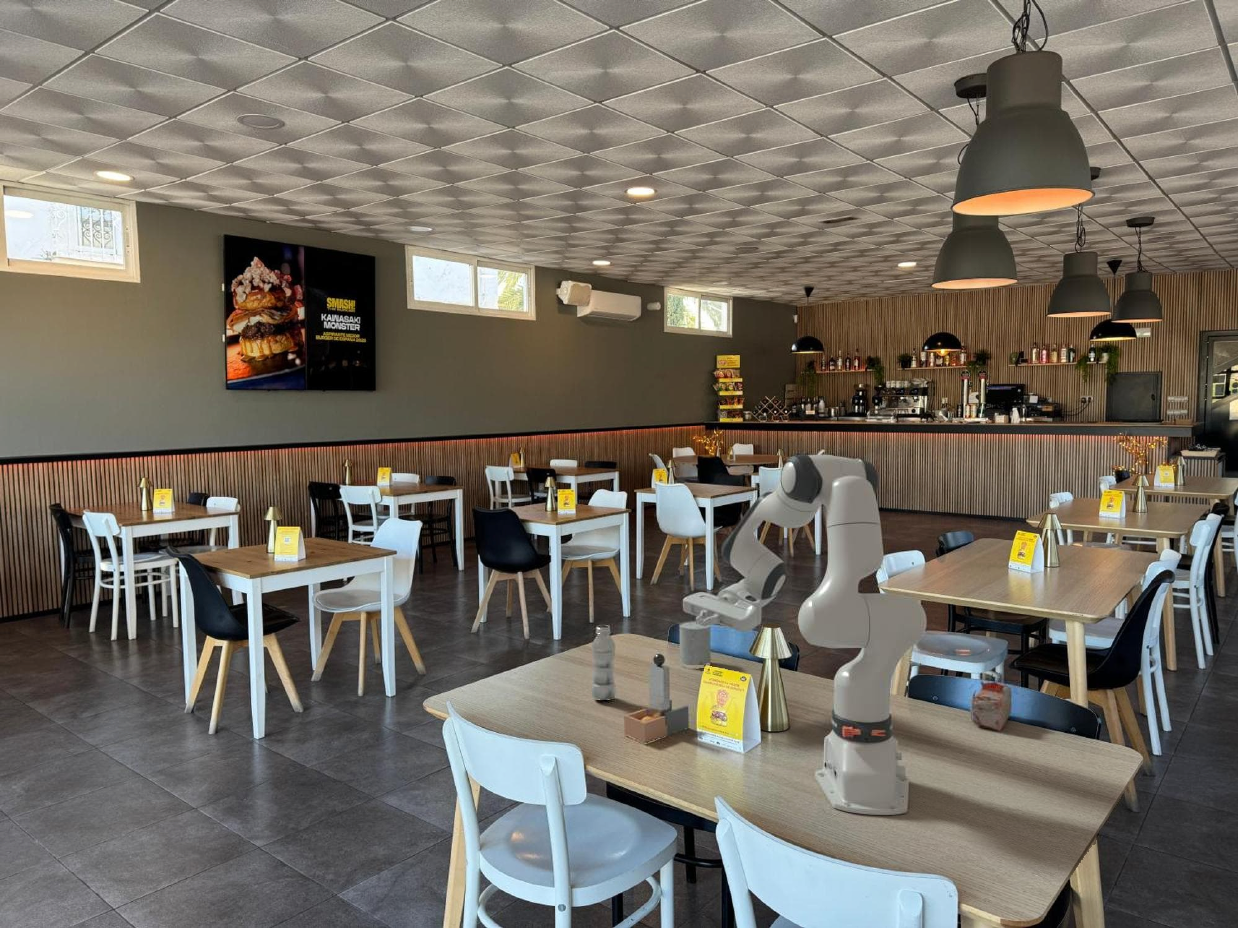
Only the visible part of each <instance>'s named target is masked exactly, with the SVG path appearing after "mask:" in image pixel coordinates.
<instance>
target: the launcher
mask: <svg viewBox="0 0 1238 928" xmlns="http://www.w3.org/2000/svg"><path fill="white" fill-rule="evenodd" d="M672 701H673V700H672V699H670V708H669V711H668V712H665V713H664V716H665V724H667V735H669V734H671V735H673V734H672V733H674V734H676V733H675V732H677V733H679V732H678V731H680V730H683V729H685V728H688V727H689V726H690V725H689V724H690V723H689V715H690V714H689V705H683V706H680V707H677V708H674V709H673V702H672ZM646 715H648V706H647V707H646ZM688 729H689V728H688ZM685 730H686V729H685ZM683 731H684V730H683ZM680 732H681V731H680ZM669 736H670V735H669Z"/></svg>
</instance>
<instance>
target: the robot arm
mask: <svg viewBox="0 0 1238 928" xmlns="http://www.w3.org/2000/svg"><path fill="white" fill-rule="evenodd" d="M879 481H880V479H879V474H878V471H877V469H876V467H875V466H874V464H873V463H872V462H870V461H868V460H865V459H863V458H862V459H861V458H857V457H856V458H849V457H845V456H837V455H835V456H834V454H833V455H832V454H806V453H804V454H796V455H792V456H790V457H788V458H787V459H786V461H785V462H784V464H783V465H782V468H781V472H780V480H779V483H778V485H777V487H776V489H775V490H774V491H766V492H765V493H763V494H761V495H760V496H759V497H758V498H757V499H756V500H755V501H754V502H753V503H752V505H751V506H750V508H749V509H748V510H747V511H746V513H745V514H744V515H743V517H742V518H741V520H740V521H739V523H738V525H736V527H735V529H734V530H733V531H732V532H731V533H730V534H729V536H728V537H727V538H726V539H725V540H724V542H723V543H722V545H721V556H722V560H723V561H724V562H725V563H726V564H727V565H729V566H730V567H732V568H733V569H735V570H736V571H737V572H738V573H739V574H740V575H741V576H743V577H744V578H743V579H741V580H740V581H739V582H737V583H733V584H731V585H729V586H727V587H725V588H724V589H722V590H719V592H718V594H716V595H715V594H711V593H708V592H703V591H700V592H695V593H693V594H689V595H688V596H686V597H685V596H684V598H683V599H682V610H683V612H685V613H687V614H690V615H692V616H694V617H695V621H696V624H699V625H702V626H705V627H706V626H708V625H710V626H711V625H720V626H723V627H727V628H729V629H731V630H735V631H737V632H739V633H747V632H748V633H749V632H750V631H751V630H753V629H754V628H756V627H757V626H759V625H761V624H762V613H763V612H762V608H763V607H764V606H766V605H767V604H769V603H770V602H772V600H774V598H775V597H777V595H778V594H779V593H780V592H781V590H782V589H783V587H784V586H785V584H786V582H787V579H788V568H787V564H786V563H785V561H784V560H782V559H781V558H780V557H779V556H778V555H776V554H775V553H774V552H773V551H771V550H770V549H768V547H767V546H766V545H764V544H763V543H762V542H760V540H759V539H758V538H757V537H756V535H755V532H756V531H757V530H758V528H759V527H760V526H761V524H763V522H764V521H765V522H769V523H772V524H774V525H777V526H779V527H781V528H787V529H796V528H801V527H805V526H806V525H808V524H810V523H811V521H812V520H813V519H814V518H815V516H816V514H817V513H818V511H819V509H820V508H821V505H823V506H824V508H825V513H826V514H825V516H826V517H825V518H826V519H825V520H826V534H827V535H826V537H827V566H826V570H825V574H824V577H823V579H822V582H821V583H820V585H819V586H818V587H817V588H816V590H815V591H814V592H813V593H812V594H811V595H810V596H809V597H807V598H806V599H805V601H803V603H802V604H801V606H800V608H799V612H798V614H797V615H798V616H797V625H798V628H799V631H800V633H801V635H802V637H803V638H804V639H805V641H806V642H807V643H808V644H810V645H812V646H818V647H823V648H829V649H857V648H858V649H859V648H861V650H860V652H859V653H858V655H857V656H855V658H854V659H852V660H850V661H849V662H847V663H845V664H844V665H842V666H841V667H839V669H838V670H837V671H836V674H835V676H834V678H833V709H832V710H831V716H830V717H831V719H830V720H831V729H832V730H831V731H830V732H829V733H828V735H826V736H825V737H824V741H823V742H824V745H823V768H822V769H818V770H816V771H815V773H814V778H815V780H816V782H817V783H818V785H819V786H820V789H821V790H822V792H823V793H824V794H825V796H826V798H827V799H828V802H830V805H831V806H832V807H833V809H838V810H839V811H843V812H848V813H854V814H862V815H875V816H876V815H877V816H879V815H880V816H889V815H891V816H893V815H894V816H895V815H901V814H906V813H907V812H908V807H909V796H910V795H909V793H910V792H909V791H910V779H909V776H907V775H906V766H905V765H899V761H901V760H903V759H902V758H903V754H902V752H899V741H898V740H897V739H896V738H895V737H894V736H893V720H892V714H891V713H890V709H891V708H890V706H891V705H890V703H891V702H890V701H891V688H892V687H891V686H892V681H893V676H894V674H895V673H894V672H895V670H896V668H897V666H898V664H899V662H900V661H901V659H902V658H903V656H904V655H905V654H906V653H907V652H908V651H909V649H911V648H912V647H913V646H915V645H916V644H918V643H919V642H920V641H921V640H922V638H923V637H924V635H925V633H926V629H927V623H928V622H927V614H926V611H925V609H924V607H923V605H922V604H921V603H920V602H919V600H918V599H917V598H915V597H913V596H909V595H905V594H904V595H903V594H899V593H898V594H897V593H892V592H887V593H886V592H885V593H883V592H882V593H878V592H877V593H876V592H875V593H861V592H859V584H860V581H861V580H863V579H864V578H867V577H869V576H870V575H872V574H873V573H875V572H876V571H878V570H879V569H880V568H881V567H882V565H883V563H884V544H883V535H882V526H881V525H882V524H881V518H880V511H879V506H878V502H877V498H876V494H877V492H878V489H879V483H880V482H879Z"/></svg>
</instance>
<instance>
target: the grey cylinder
mask: <svg viewBox="0 0 1238 928" xmlns="http://www.w3.org/2000/svg"><path fill="white" fill-rule="evenodd" d="M680 662H681V663H684V664H686V665H704V667H705V666H706V663H710V662H711V625H708V626H706V627H705V626H702V625H699V624H696V620H694V621H693V620H692V621H690V620H689V621H684V622H681V623H679V663H680Z"/></svg>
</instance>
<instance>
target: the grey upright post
mask: <svg viewBox="0 0 1238 928" xmlns="http://www.w3.org/2000/svg"><path fill="white" fill-rule="evenodd" d="M652 661H653V662H651V663H649V665H648V684H649V685H648V688H649V689H648V691H649V705H647V707H648V714H647V717H652V718H653V719H656V718H659V717H662V716H664V713H665V712H668V711H669V708H670V700H671V698H670V696H671V694H670V693H671V692H670V691H671V690H670V689H671V688H670V683H671V682H670V666H668V665H665V661H666V659H665V655H663V654H662V653H656V654H655V655H654V656H653V658H652Z"/></svg>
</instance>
